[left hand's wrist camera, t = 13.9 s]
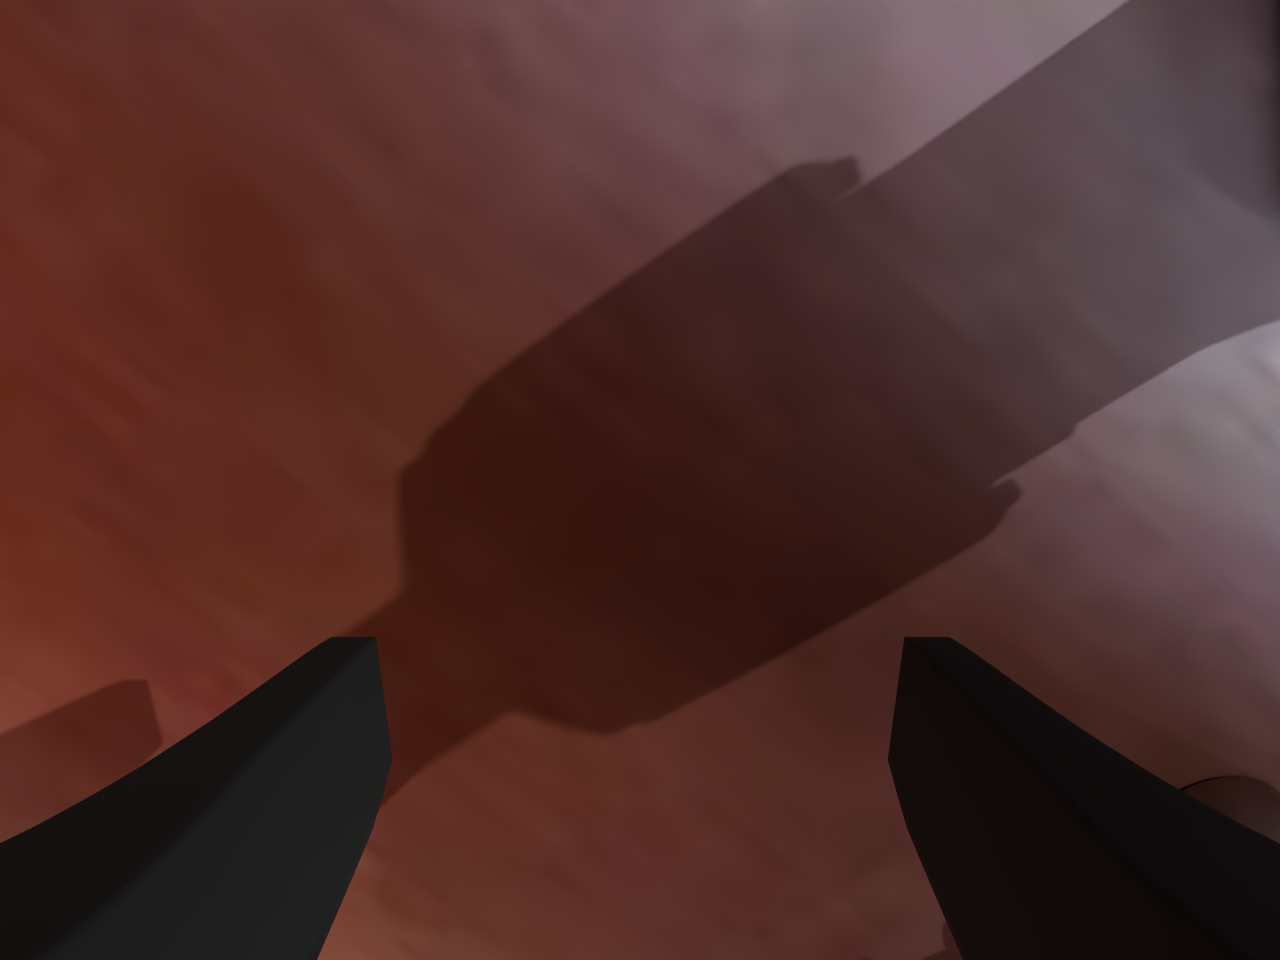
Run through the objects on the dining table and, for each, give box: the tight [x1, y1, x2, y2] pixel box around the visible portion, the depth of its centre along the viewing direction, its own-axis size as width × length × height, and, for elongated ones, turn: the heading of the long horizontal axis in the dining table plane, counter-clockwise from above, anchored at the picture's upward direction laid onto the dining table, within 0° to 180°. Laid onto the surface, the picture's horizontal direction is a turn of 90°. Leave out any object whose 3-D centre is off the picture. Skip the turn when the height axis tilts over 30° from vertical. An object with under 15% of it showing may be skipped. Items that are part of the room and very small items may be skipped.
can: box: [1182, 777, 1280, 843], centre depth 21 cm, size 4×4×5 cm
